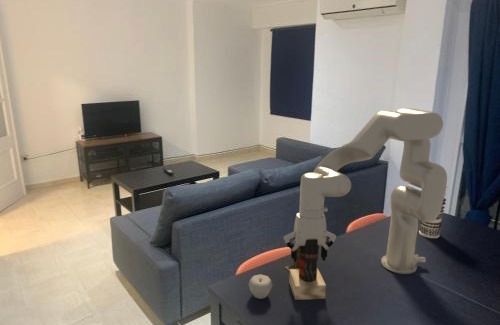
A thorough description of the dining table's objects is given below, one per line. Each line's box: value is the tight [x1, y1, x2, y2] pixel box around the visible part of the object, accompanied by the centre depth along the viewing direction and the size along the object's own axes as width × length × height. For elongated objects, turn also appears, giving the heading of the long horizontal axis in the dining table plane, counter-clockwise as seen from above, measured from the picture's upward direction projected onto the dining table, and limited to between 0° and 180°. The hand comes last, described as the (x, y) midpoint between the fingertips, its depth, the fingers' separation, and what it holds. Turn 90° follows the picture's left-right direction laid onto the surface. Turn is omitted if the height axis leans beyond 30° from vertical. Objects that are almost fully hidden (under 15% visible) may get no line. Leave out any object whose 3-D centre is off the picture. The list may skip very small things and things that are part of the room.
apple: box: [248, 273, 273, 300], centre depth 116 cm, size 8×8×7 cm
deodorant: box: [299, 239, 320, 282], centre depth 117 cm, size 6×6×15 cm
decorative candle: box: [418, 185, 448, 239], centre depth 159 cm, size 9×9×25 cm
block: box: [288, 267, 327, 301], centre depth 120 cm, size 10×10×5 cm
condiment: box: [284, 246, 300, 272], centre depth 131 cm, size 7×8×12 cm
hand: (308, 259), depth 117 cm, fingers open, 9 cm apart
